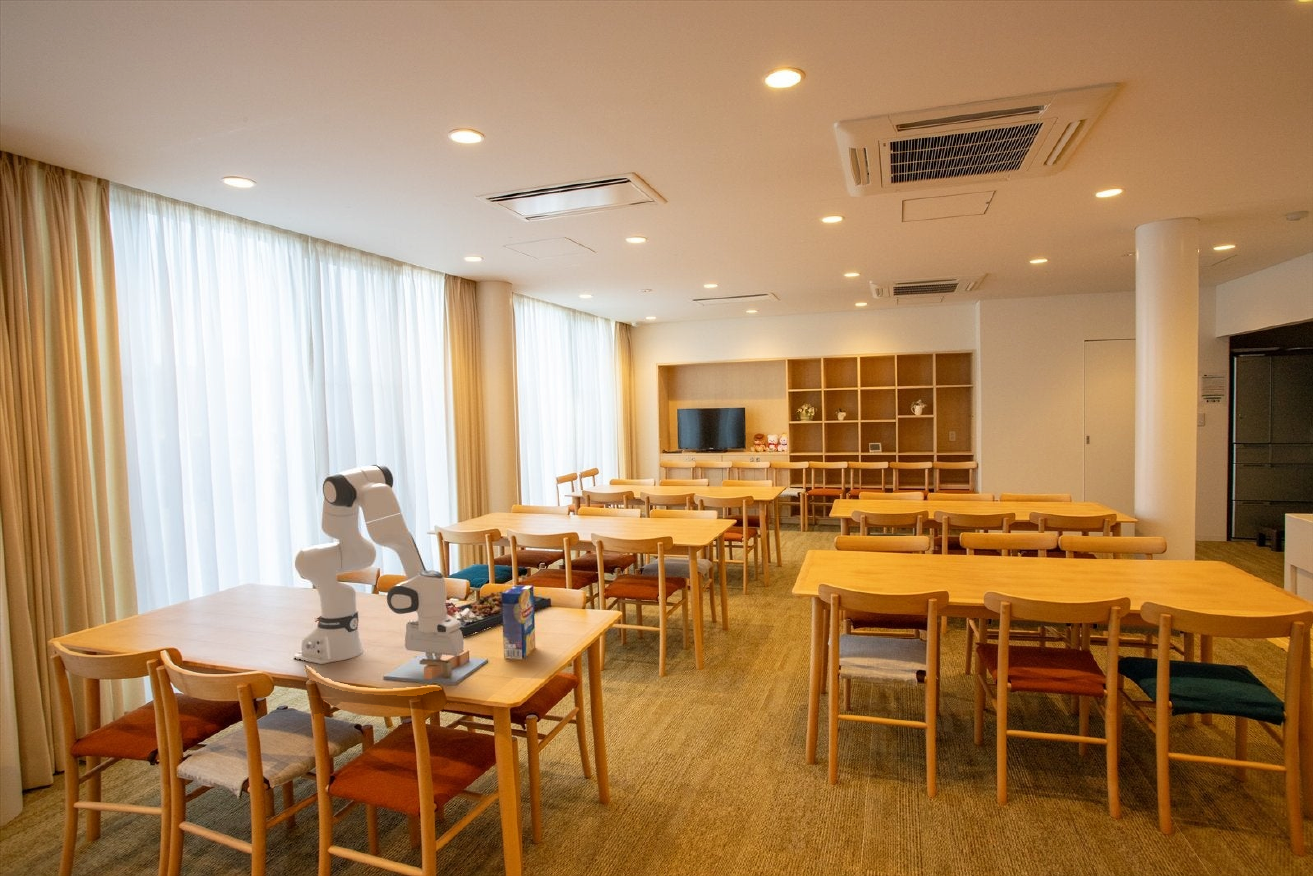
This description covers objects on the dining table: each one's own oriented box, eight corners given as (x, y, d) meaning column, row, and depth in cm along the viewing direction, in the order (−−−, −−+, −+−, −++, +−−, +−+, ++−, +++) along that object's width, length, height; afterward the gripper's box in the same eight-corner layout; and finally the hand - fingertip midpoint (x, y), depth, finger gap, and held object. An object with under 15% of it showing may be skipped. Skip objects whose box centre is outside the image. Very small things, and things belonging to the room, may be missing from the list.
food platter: (464, 639, 251) (463, 611, 250) (423, 628, 265) (422, 602, 265) (551, 608, 287) (550, 584, 287) (510, 601, 302) (509, 578, 301)
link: (435, 679, 208) (434, 668, 208) (421, 677, 210) (420, 667, 210) (469, 660, 224) (469, 650, 224) (456, 658, 226) (455, 648, 226)
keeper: (420, 676, 211) (419, 661, 211) (424, 674, 213) (423, 658, 213) (448, 678, 208) (447, 663, 208) (451, 676, 210) (451, 660, 210)
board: (383, 679, 212) (383, 676, 212) (421, 656, 232) (421, 653, 232) (454, 685, 206) (454, 682, 206) (488, 661, 225) (488, 658, 225)
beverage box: (535, 648, 236) (533, 585, 236) (523, 660, 226) (520, 594, 225) (517, 648, 238) (514, 585, 237) (503, 659, 227) (501, 593, 226)
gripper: (399, 623, 217) (401, 666, 217) (453, 628, 209) (454, 673, 210) (413, 617, 222) (414, 659, 223) (465, 622, 215) (467, 666, 216)
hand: (434, 666), depth 216 cm, fingers closed
